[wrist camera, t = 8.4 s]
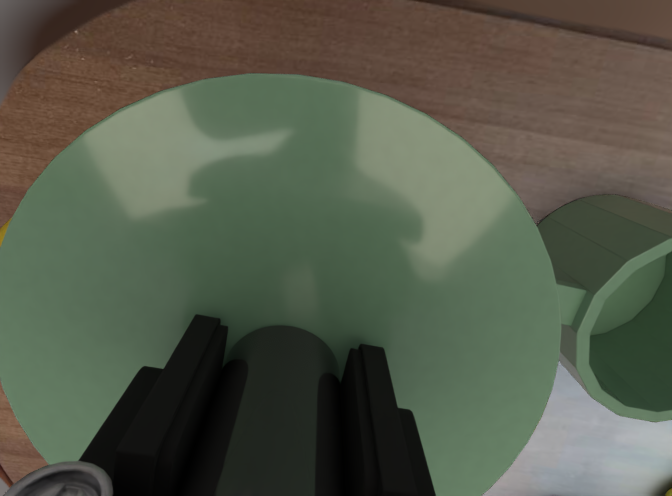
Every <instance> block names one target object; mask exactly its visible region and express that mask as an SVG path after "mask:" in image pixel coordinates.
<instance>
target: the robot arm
mask: <svg viewBox="0 0 672 496" xmlns="http://www.w3.org/2000/svg"><path fill="white" fill-rule="evenodd" d="M220 324H221V320H220V318H215V317H209V316H204V315H198V314H196V315H195V316H194V318H193V319H192V321H191V323H190V324H189V326H188V328H187V330H186V331H185V333H184V335H183V336H182V338H181V340H180V341H179V343H178V345H177V347H176V348H175V350H174V352H173V353H172V355H171V357H170V359H169V360H168V362H167V364H166V365H165V367H164V369H161V368H155V367H149V366H143V367H141V369H140V370H139V371H138V372H137V374H136V375H135V377H134V378H133V380H132V381H131V383H130V384H129V386H128V387H127V389H126V390H125V392H124V393H123V395H122V396H121V398H120V399H119V401H118V402H117V404H116V405H115V407H114V408H113V410H112V411H111V413H110V414H109V416H108V417H107V419H106V420H105V421H104V423H103V424H102V426H101V427H100V429H99V430H98V432H97V433H96V435H95V436H94V438H93V439H92V441H91V442H90V444H89V445H88V447H87V448H86V450H85V451H84V453H83V454H82V456H81V457H80V459H79V460H78V461H64V462H59V463H55V464H51V465H47V466H44V467H42V468H40V469H38V470H35V471H33V472H31V473H29V474H27V475H26V476H24V477H23V478H22V479H20V480H19V481H18V482H16V483H15V484H13V485H12V486H11V487H10V488H9V490H8V491H7V492H6V493H5V494H4V495H3V496H175V494H176V492H177V489H178V486H179V484H180V481H181V478H182V476H183V473H184V470H185V468H186V465H187V462H188V460H189V457H190V454H191V451H192V449H193V446H194V443H195V441H196V438H197V435H198V433H199V430H200V427H201V425H202V422H203V419H204V417H205V414H206V411H207V408H208V406H209V403H210V400H211V398H212V395H213V392H214V390H215V387H216V384H217V382H218V379H219V376H220V374H221V371H222V367H223V360H224V354H225V347H226V341H227V334H228V326H224V325H220ZM340 387H341V406H342V424H343V443H344V462H345V481H346V496H436V494H435V490H434V486H433V483H432V479H431V476H430V472H429V468H428V465H427V461H426V457H425V454H424V450H423V446H422V443H421V439H420V435H419V432H418V428H417V425H416V421H415V417H414V415H413V412H412V411H411V410H410V409H404V408H398V406H397V402H396V397H395V393H394V389H393V384H392V380H391V375H390V371H389V367H388V362H387V358H386V354H385V350H384V348H383V347H378V346H372V345H367V344H360V345H359V347H358V349H354V348H351V349H350V351H349V354H348V358H347V361H346V365H345V369H344V373H343V376H342V380H341V384H340Z"/></svg>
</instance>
